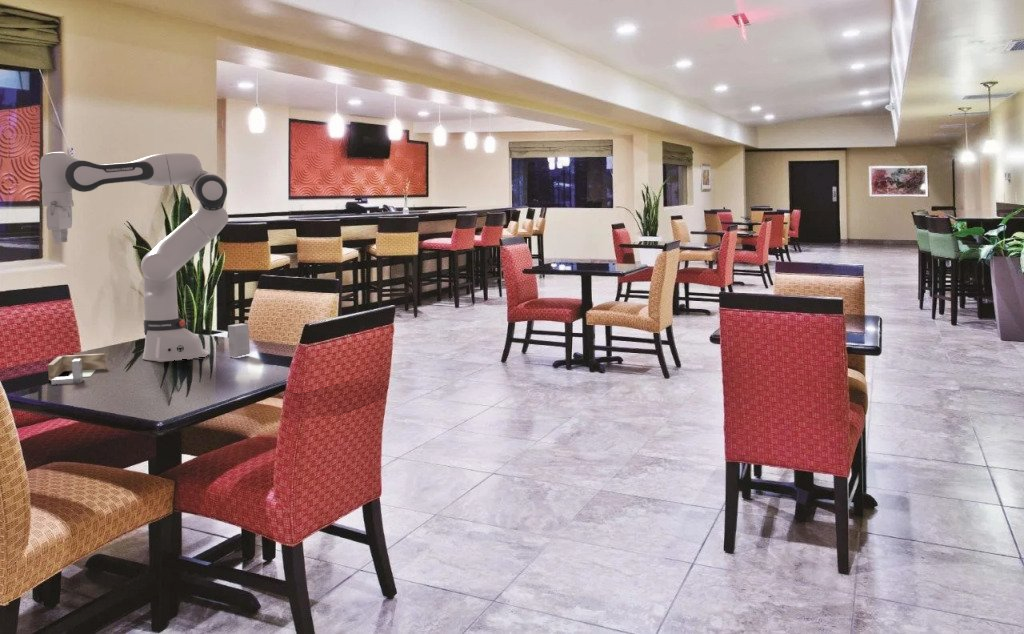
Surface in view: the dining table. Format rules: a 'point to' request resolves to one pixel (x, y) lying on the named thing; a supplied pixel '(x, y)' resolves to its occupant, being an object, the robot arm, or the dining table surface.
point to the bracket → (75, 378)
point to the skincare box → (238, 340)
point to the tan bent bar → (66, 363)
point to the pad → (86, 373)
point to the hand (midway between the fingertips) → (61, 242)
